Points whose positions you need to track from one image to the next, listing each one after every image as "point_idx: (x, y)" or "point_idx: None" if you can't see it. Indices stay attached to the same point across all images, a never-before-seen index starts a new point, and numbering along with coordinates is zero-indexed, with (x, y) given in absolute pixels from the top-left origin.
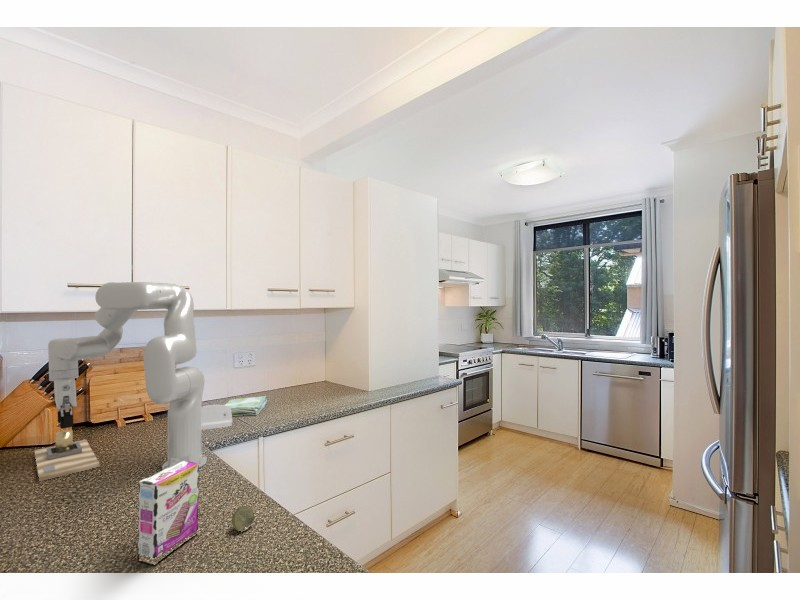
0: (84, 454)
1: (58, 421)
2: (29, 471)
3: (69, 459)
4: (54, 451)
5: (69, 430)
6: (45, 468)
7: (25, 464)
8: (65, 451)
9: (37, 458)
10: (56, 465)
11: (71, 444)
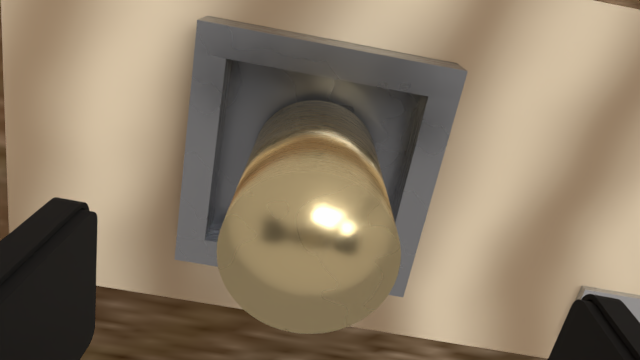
0: (535, 66)
1: (81, 352)
2: (418, 348)
3: (543, 181)
4: (213, 200)
5: (297, 201)
6: None
7: (237, 332)
8: (419, 190)
9: None
10: (591, 273)
11: (364, 141)
